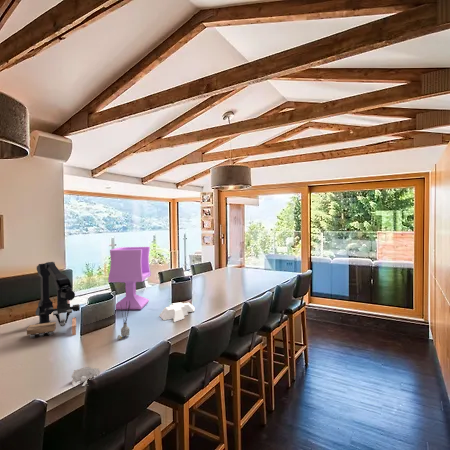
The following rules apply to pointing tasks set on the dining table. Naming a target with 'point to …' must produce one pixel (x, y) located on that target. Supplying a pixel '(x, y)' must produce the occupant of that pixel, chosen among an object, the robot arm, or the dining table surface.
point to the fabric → (84, 375)
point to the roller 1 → (32, 335)
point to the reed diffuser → (124, 325)
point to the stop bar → (74, 326)
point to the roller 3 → (63, 322)
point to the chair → (130, 273)
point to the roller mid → (41, 334)
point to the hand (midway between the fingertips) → (63, 323)
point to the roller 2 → (50, 333)
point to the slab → (41, 328)
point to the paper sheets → (176, 311)
